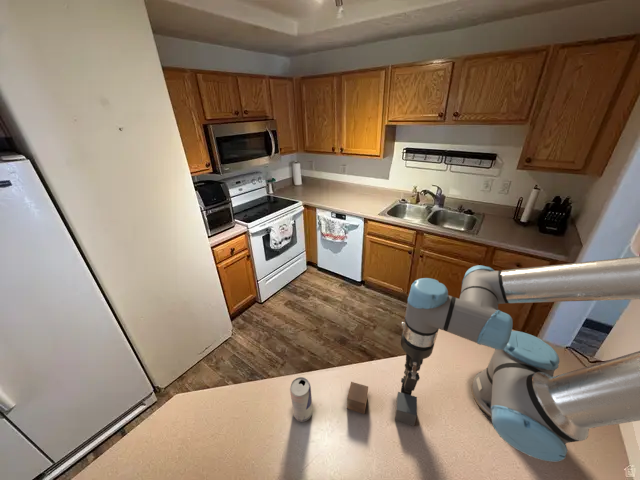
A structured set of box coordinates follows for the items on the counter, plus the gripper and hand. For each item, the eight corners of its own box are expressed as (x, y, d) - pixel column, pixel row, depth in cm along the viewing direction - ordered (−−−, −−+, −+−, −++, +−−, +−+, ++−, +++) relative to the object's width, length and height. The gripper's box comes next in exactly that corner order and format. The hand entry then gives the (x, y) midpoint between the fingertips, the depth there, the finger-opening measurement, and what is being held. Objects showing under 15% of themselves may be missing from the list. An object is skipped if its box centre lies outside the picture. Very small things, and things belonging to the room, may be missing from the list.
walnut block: (367, 396, 75) (368, 386, 73) (364, 414, 71) (365, 403, 69) (350, 391, 77) (351, 381, 74) (346, 408, 73) (347, 398, 70)
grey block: (414, 407, 72) (416, 396, 70) (414, 426, 68) (416, 415, 66) (395, 401, 74) (397, 391, 72) (394, 419, 70) (396, 409, 67)
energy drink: (315, 406, 73) (313, 380, 68) (307, 425, 69) (304, 400, 63) (299, 399, 75) (296, 373, 70) (290, 417, 71) (285, 391, 66)
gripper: (403, 313, 69) (394, 369, 80) (400, 354, 58) (390, 411, 70) (433, 320, 67) (419, 376, 78) (436, 363, 56) (419, 421, 67)
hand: (405, 393), depth 74 cm, fingers closed
